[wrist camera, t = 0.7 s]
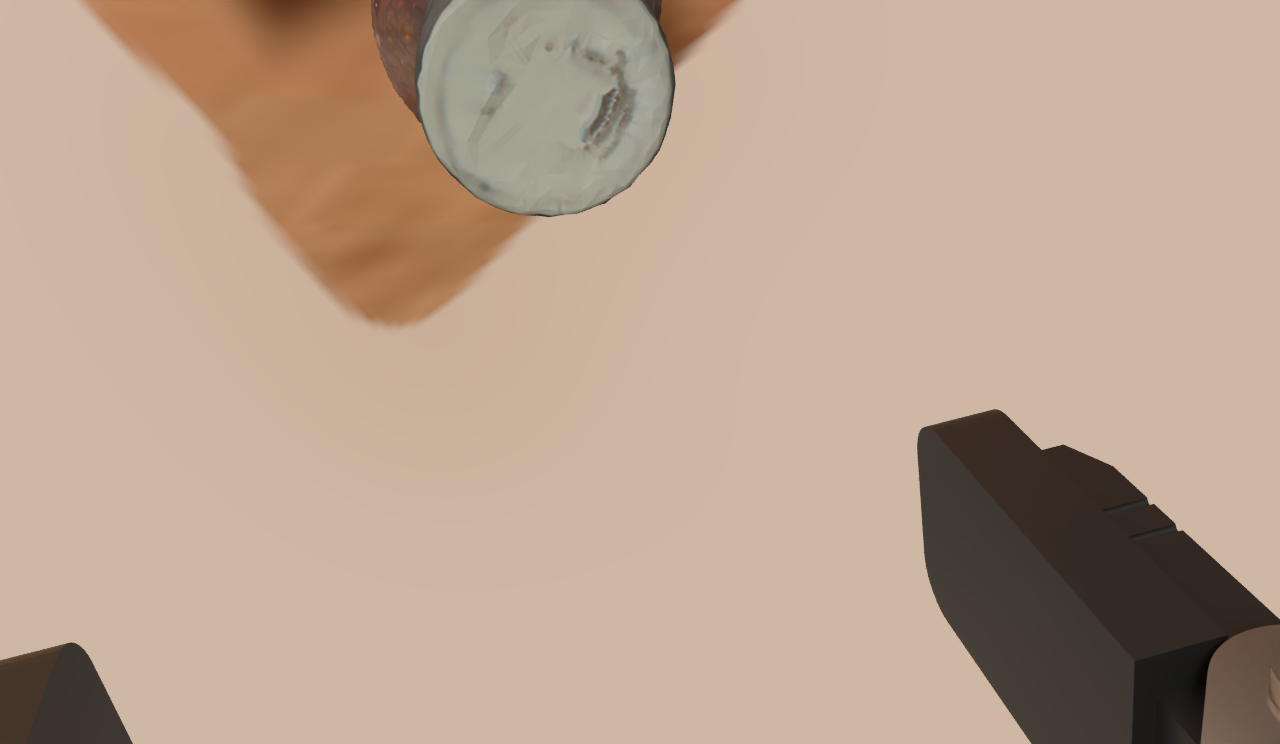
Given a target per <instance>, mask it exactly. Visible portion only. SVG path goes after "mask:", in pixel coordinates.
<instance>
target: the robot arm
mask: <svg viewBox="0 0 1280 744" xmlns="http://www.w3.org/2000/svg"><path fill="white" fill-rule="evenodd" d="M917 449H918V465H919V466H918V467H919V481H920V496H921V510H922V525H923V538H924V539H923V540H924V554H925V562H926V568H927V572H928V577H929V580H930V584H931V586H932V590H933V593H934V595H935V598H936V600H937V603H938V605H939V607H940V609H941V611H942V613H943V615H944V617H945V618H946V620H947V621H948V623H949V624H950V626H951V627H952V629H953V630H954V632H955V633H956V635H957V636H958V637H959V639H960V640H961V642H962V643H963V645H964V646H965V648H966V649H967V651H968V652H969V653H970V655H971V656H972V658H973V659H974V661H975V662H976V664H977V665H978V667H979V668H980V669H981V671H982V672H983V674H984V675H985V677H986V678H987V680H988V681H989V683H990V684H991V685H992V687H993V688H994V690H995V691H996V693H997V694H998V696H999V697H1000V698H1001V700H1002V701H1003V703H1004V704H1005V706H1006V707H1007V709H1008V710H1009V712H1010V713H1011V714H1012V716H1013V717H1014V719H1015V720H1016V721H1017V723H1018V725H1019V726H1020V728H1021V729H1022V731H1023V732H1024V733H1025V735H1026V736H1027V738H1028V739H1029V741H1030V742H1031V744H1280V619H1279V618H1278V617H1276V616H1275V615H1274V614H1273V613H1272V612H1271V611H1270V610H1269V609H1268V608H1267V607H1265V606H1264V605H1263V604H1262V603H1261V602H1260V601H1259V600H1258V599H1257V598H1256V597H1255V596H1254V595H1253V594H1251V593H1250V592H1249V591H1248V590H1247V589H1246V588H1245V587H1244V586H1243V585H1242V584H1241V583H1239V582H1238V581H1237V580H1236V579H1235V578H1234V577H1233V576H1232V575H1231V574H1230V573H1229V572H1227V571H1226V570H1225V569H1224V568H1223V567H1222V566H1221V565H1220V564H1219V563H1218V562H1217V561H1215V560H1214V559H1213V558H1212V557H1211V556H1210V555H1209V554H1208V553H1207V552H1206V551H1204V550H1203V549H1202V548H1201V547H1200V546H1199V545H1198V544H1197V543H1196V542H1195V541H1194V540H1193V539H1192V538H1190V537H1189V536H1188V535H1187V534H1186V533H1185V532H1184V531H1179V532H1178V531H1177V529H1176V525H1175V523H1174V522H1173V521H1172V520H1171V519H1170V518H1169V517H1168V516H1167V515H1165V514H1164V513H1163V512H1162V511H1161V510H1160V509H1159V508H1158V507H1157V506H1156V505H1155V504H1152V505H1149V503H1148V500H1147V497H1146V496H1145V495H1144V494H1143V493H1141V492H1140V491H1139V490H1138V489H1137V488H1136V487H1135V486H1134V485H1133V484H1132V483H1130V482H1129V481H1128V480H1127V479H1126V478H1125V477H1124V476H1123V475H1122V474H1121V473H1120V472H1118V471H1117V470H1116V469H1115V468H1114V467H1113V466H1111V465H1109V464H1106V463H1104V462H1102V461H1100V460H1097V459H1095V458H1093V457H1090V456H1088V455H1086V454H1084V453H1081V452H1079V451H1077V450H1075V449H1072V448H1070V447H1068V446H1065V445H1060V446H1056V447H1052V448H1049V449H1045V450H1041V449H1040V448H1039V447H1038V446H1037V445H1036V444H1035V443H1034V442H1033V441H1032V440H1031V439H1030V438H1029V437H1028V436H1027V435H1026V434H1025V433H1024V432H1023V431H1022V430H1021V429H1020V428H1019V427H1018V426H1017V425H1016V424H1015V423H1014V422H1013V421H1012V420H1011V419H1010V418H1009V417H1008V416H1007V415H1005V414H1004V413H1003V412H1002V411H1000V410H996V409H994V410H990V411H986V412H982V413H978V414H974V415H970V416H966V417H962V418H958V419H954V420H950V421H947V422H943V423H939V424H935V425H931V426H927V427H924V428H922V429H921V430H920V433H919V436H918V443H917ZM0 744H133V743H132V741H131V740H130V737H129V735H128V733H127V731H126V729H125V727H124V725H123V723H122V721H121V719H120V717H119V715H118V713H117V711H116V710H115V707H114V705H113V703H112V701H111V699H110V697H109V695H108V693H107V691H106V689H105V687H104V685H103V683H102V681H101V679H100V677H99V675H98V673H97V671H96V669H95V667H94V665H93V663H92V661H91V659H90V658H89V656H88V654H87V653H86V652H85V650H84V649H83V648H82V647H80V646H79V645H78V644H76V643H67V644H63V645H59V646H55V647H51V648H47V649H43V650H40V651H35V652H31V653H28V654H24V655H20V656H16V657H12V658H8V659H4V660H0Z"/></svg>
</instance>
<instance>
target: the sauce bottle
mask: <svg viewBox="0 0 1280 744" xmlns="http://www.w3.org/2000/svg"><path fill="white" fill-rule="evenodd" d="M371 12H372V27H373V30H374V37H375V39H376V43H377V46H378V49H379V52H380V57H381V60H382V61H383V64H384V67H385V69H386V72H387V74H388V77H389V79H390V81H391V82H392V85H393V87H394V89H395V90H396V92H397V93H398V95H399V96H400V97H401V98H402V99H403V101H404V103H405V104H406V105H407V107H408V108H409V109H410V110H411V111H412V112H413V113H414V115H415V116H416V118H417V119H418V121H419V122H421V124H422V127H423V130H424V132H425V135H426V138H427V140H428V142H429V144H430V146H431V148H432V150H433V152H434V153H435V155H436V157H437V159H438V160H439V161H440V163H441V164H442V165H443V166H444V167H445V169H446V170H447V171H448V172H449V173H450V174H451V175H452V176H453V177H454V178H455V179H456V180H457V181H458V182H459V183H460V184H462V185H463V186H464V187H465V188H466V189H467V190H468V191H469V192H470V193H472V194H473V195H474V196H475V197H476V198H478V199H480V200H482V201H484V202H486V203H488V204H490V205H492V206H494V207H496V208H499V209H502V210H504V211H507V212H510V213H515V214H520V215H531V216H545V217H552V216H558V215H564V214H577V213H580V212H583V211H586V210H588V209H591V208H593V207H595V206H598V205H601V204H605V203H606V202H607V201H609V200H610V199H611V198H612V197H614V196H615V195H617V194H618V193H620V192H622V191H624V190H625V189H627V188H629V187H630V186H631V185H632V183H633V182H634V181H635V179H636V178H637V177H638V176H639V174H641V172H643V170H645V169H646V167H648V165H649V164H650V163H651V162H652V160H653V159H654V157H655V156H656V155H657V153H658V152H659V150H660V148H661V145H662V143H663V140H664V137H665V135H666V131H667V128H668V125H669V121H670V119H671V112H672V105H673V99H674V91H675V75H674V67H673V62H672V59H671V56H670V53H669V49H668V45H667V40H666V36H665V34H664V32H663V30H662V28H661V26H660V24H659V19H660V15H661V0H372V1H371Z"/></svg>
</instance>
